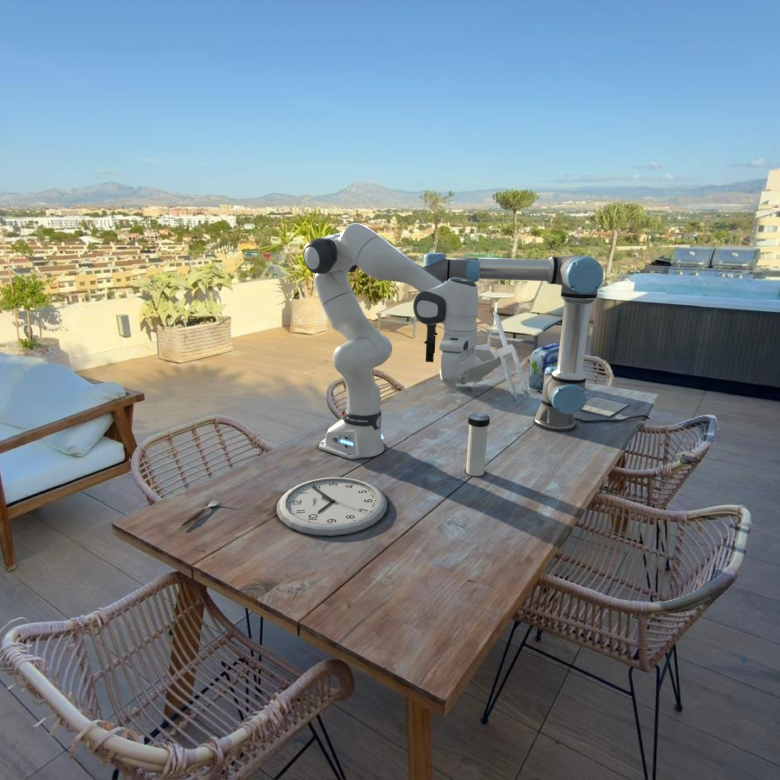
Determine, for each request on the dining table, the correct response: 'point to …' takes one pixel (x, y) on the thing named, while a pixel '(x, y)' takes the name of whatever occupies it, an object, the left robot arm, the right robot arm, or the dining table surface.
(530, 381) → the lunch box
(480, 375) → the white plastic object
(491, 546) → the dining table surface
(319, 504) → the wall clock
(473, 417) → the lid
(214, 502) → the fork
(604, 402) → the invitation card
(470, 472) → the white cylindrical tube
